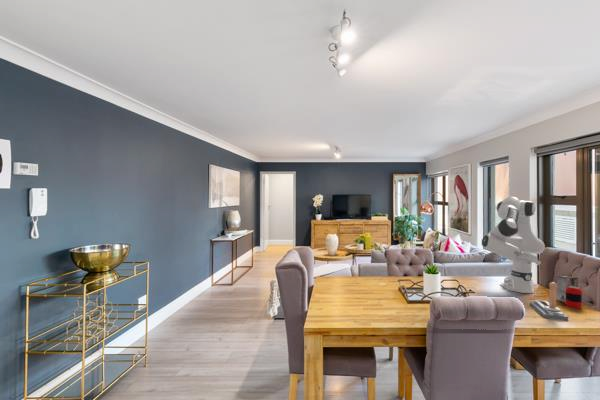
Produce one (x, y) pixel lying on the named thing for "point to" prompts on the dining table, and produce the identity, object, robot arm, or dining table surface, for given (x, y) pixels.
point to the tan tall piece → (552, 298)
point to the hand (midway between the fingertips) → (535, 263)
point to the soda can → (573, 297)
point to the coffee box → (565, 286)
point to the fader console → (546, 313)
